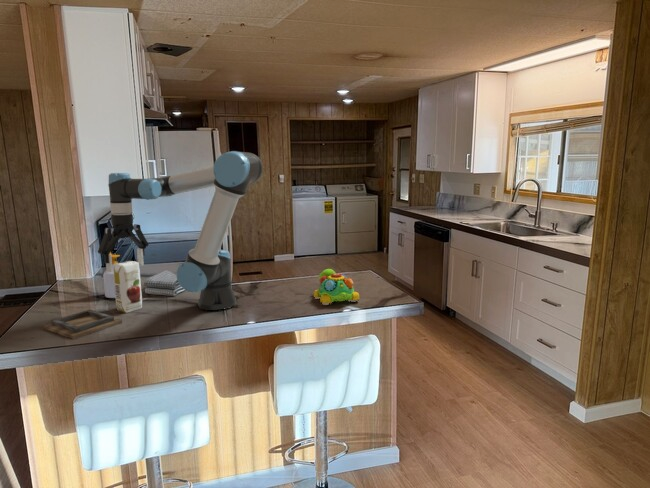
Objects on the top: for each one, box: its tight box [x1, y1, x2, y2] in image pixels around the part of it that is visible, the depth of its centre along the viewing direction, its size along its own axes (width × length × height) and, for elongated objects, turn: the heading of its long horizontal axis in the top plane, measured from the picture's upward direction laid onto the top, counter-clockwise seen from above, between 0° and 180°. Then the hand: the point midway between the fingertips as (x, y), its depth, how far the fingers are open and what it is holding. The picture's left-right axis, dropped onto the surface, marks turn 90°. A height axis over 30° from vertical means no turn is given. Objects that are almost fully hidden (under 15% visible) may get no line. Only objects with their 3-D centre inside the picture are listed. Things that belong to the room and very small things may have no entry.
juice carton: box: [113, 260, 143, 314], centre depth 177 cm, size 8×9×19 cm
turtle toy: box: [313, 268, 360, 303], centre depth 191 cm, size 17×23×12 cm
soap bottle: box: [102, 242, 121, 299], centre depth 196 cm, size 9×9×25 cm
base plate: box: [43, 309, 123, 340], centre depth 161 cm, size 18×18×3 cm
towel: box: [143, 269, 186, 297], centre depth 205 cm, size 15×18×8 cm
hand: (125, 267), depth 176 cm, fingers open, 13 cm apart
